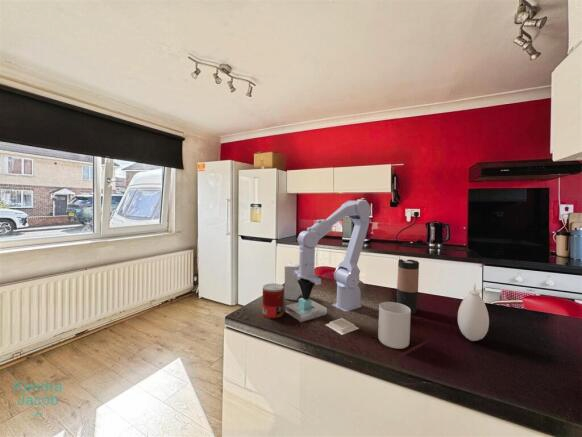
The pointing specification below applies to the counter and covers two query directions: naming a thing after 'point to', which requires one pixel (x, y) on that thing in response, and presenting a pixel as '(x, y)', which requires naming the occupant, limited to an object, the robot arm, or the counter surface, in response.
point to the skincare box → (292, 282)
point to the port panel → (306, 311)
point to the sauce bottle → (473, 316)
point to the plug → (304, 303)
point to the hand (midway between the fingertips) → (306, 298)
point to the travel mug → (408, 283)
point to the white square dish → (342, 326)
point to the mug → (394, 325)
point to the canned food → (273, 300)
